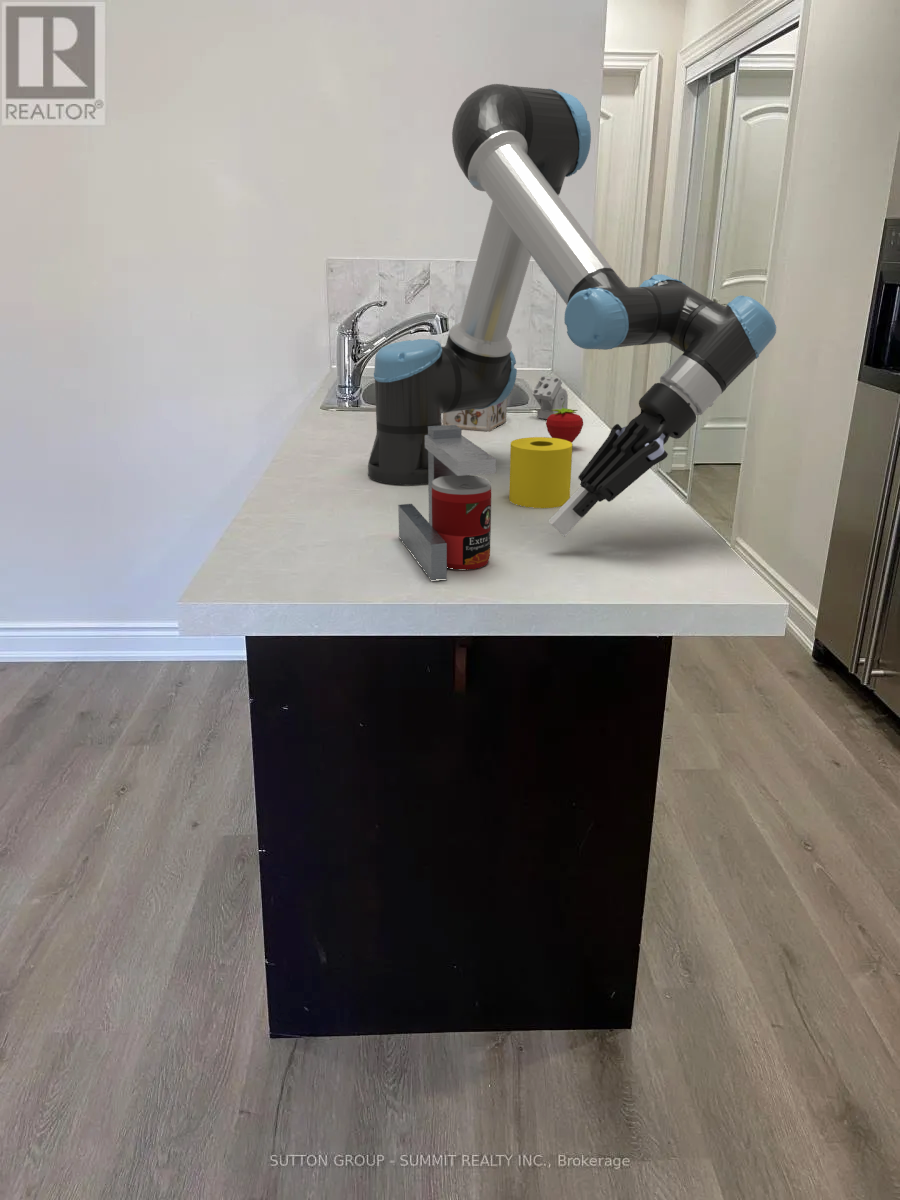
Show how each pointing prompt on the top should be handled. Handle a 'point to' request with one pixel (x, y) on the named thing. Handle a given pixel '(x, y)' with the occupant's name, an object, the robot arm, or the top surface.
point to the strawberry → (564, 424)
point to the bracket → (444, 459)
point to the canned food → (463, 519)
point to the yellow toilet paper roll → (540, 472)
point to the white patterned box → (478, 417)
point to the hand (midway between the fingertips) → (556, 528)
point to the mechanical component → (550, 396)
